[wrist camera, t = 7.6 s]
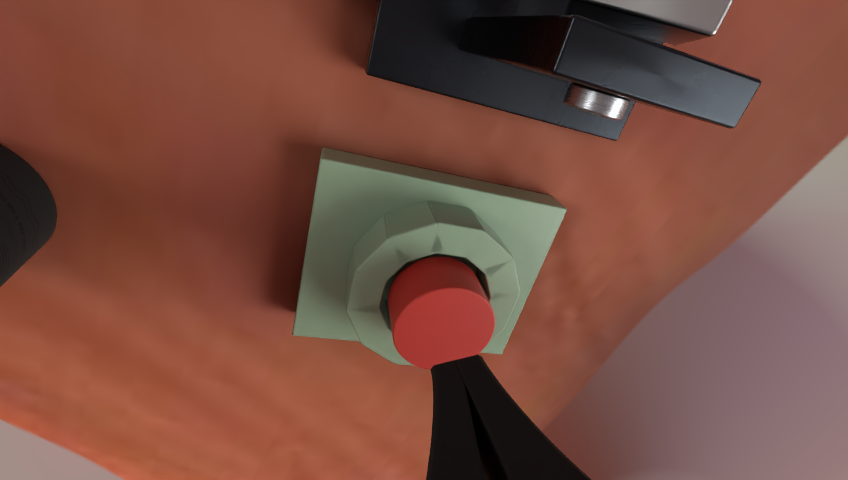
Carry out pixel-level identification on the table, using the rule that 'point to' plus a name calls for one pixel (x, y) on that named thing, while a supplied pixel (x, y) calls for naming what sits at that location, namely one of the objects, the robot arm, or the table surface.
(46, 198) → the drinking cup
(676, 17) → the tap lever
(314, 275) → the button box
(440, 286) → the button
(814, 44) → the table surface
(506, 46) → the black lever mount
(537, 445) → the robot arm
